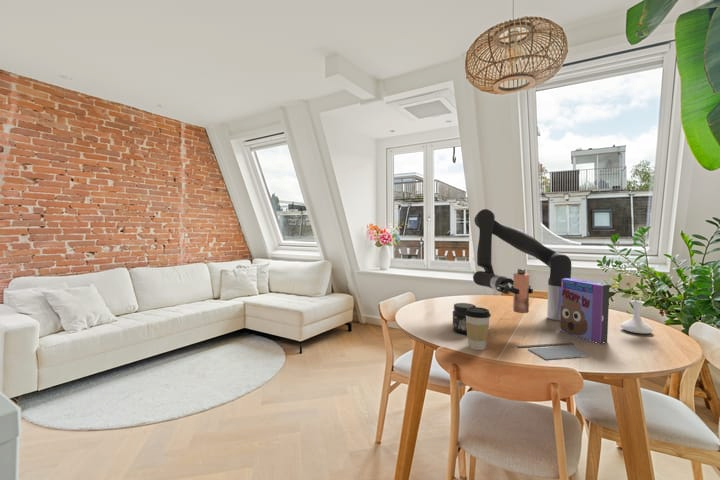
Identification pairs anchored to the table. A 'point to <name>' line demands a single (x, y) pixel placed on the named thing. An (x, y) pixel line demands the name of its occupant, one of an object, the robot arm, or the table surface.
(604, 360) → the table surface
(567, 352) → the felt mat
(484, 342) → the coffee cup
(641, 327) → the flower in vase
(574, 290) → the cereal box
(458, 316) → the supplement container
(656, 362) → the table surface
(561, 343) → the tape line
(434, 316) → the table surface
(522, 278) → the water bottle
